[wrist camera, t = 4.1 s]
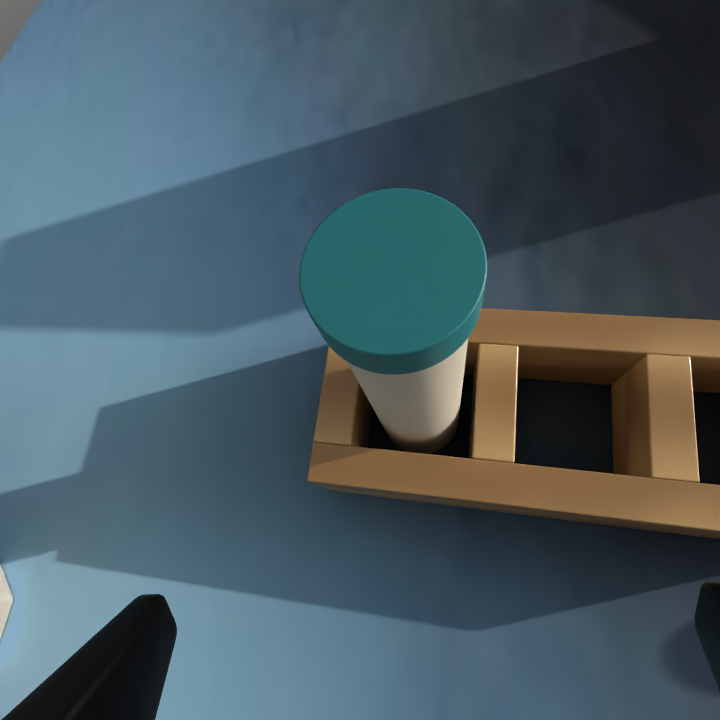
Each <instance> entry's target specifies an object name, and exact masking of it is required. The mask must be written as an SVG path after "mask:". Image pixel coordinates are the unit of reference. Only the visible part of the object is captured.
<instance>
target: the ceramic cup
mask: <svg viewBox="0 0 720 720" xmlns="http://www.w3.org/2000/svg"><path fill="white" fill-rule="evenodd" d="M12 603H13V597H12V594H11V591H10V588H9V586H8V583H7V580H6V578H5V575H4V572H3V570H2V567H1V564H0V638H1V635H2V632H3V630H4V627H5V624H6V621H7V618H8V615H9V612H10V609H11V606H12Z"/></svg>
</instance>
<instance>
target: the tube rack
mask: <svg viewBox="0 0 720 720" xmlns="http://www.w3.org/2000/svg"><path fill="white" fill-rule="evenodd" d="M464 374H472V375H473V388H472V404H471V420H470V435H469V451H468V458H460V457H451V456H441V455H432V454H422V453H413V452H404V451H394V450H385V449H375V448H368V444H369V436H370V428H371V420H372V412H373V407H372V405H371V404H370V402H369V400H368V398H367V396H366V395H365V393H364V391H363V389H362V387H361V386H360V384H359V382H358V380H357V378H356V377H355V375H354V373H353V371H352V369H351V368H350V366H349V364H348V362H347V361H345V360H344V359H343V358H341V357H340V356H339V355H337V354H336V353H335V352H334V351H333V350H332V349H331V348H330V347H329V345H328V351H327V357H326V363H325V370H324V376H323V383H322V389H321V395H320V402H319V408H318V415H317V421H316V427H315V434H314V442H313V445H312V451H311V458H310V464H309V470H308V477H307V481H308V482H311V483H313V484H315V485H318V486H320V487H323V488H325V489H328V490H330V491H336V492H344V493H352V494H360V495H368V496H376V497H384V498H392V499H400V500H408V501H417V502H425V503H433V504H441V505H449V506H457V507H465V508H473V509H481V510H489V511H497V512H505V513H513V514H522V515H530V516H538V517H546V518H554V519H562V520H570V521H578V522H586V523H594V524H602V525H610V526H619V527H627V528H635V529H643V530H651V531H659V532H667V533H675V534H683V535H691V536H699V537H707V538H716V539H720V485H715V484H706V483H698V482H699V481H700V480H699V466H698V453H697V439H696V426H695V412H694V399H693V391H696V392H709V393H720V321H718V320H699V319H679V318H660V317H641V316H622V315H603V314H583V313H564V312H545V311H526V310H506V309H487V308H482V309H481V312H480V316H479V319H478V321H477V323H476V326H475V328H474V329H473V331H472V333H471V334H470V336H469V337H468V344H467V352H466V361H465V369H464ZM518 378H525V379H538V380H551V381H564V382H577V383H591V384H604V385H612V386H611V397H612V439H613V474H611V473H602V472H592V471H583V470H573V469H564V468H555V467H545V466H536V465H526V464H517V463H514V461H515V438H516V410H517V381H518Z"/></svg>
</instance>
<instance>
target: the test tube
mask: <svg viewBox="0 0 720 720" xmlns="http://www.w3.org/2000/svg"><path fill="white" fill-rule="evenodd" d="M299 278H300V290H301V295H302V299H303V302H304V305H305V307H306V309H307V311H308V313H309V315H310V317H311V319H312V320H313V322H314V324H315V325H316V327H317V329H318V330H319V332H320V333H321V335H322V337H323V338H324V340H325V341H326V342H327V344H328V345H329V347H330V348H331V349H332V350H333V351H334V352H335V353H336V354H337V355H339V356H340V357H341V358H343V359H344V360H345V361H347V362H348V364H349V366H350V368H351V369H352V371H353V373H354V375H355V377H356V378H357V380H358V382H359V384H360V386H361V387H362V389H363V391H364V393H365V395H366V396H367V398H368V400H369V402H370V404H371V405H372V407H373V409H374V411H375V413H376V414H377V416H378V418H379V420H380V422H381V423H382V425H383V427H384V429H385V431H386V433H387V434H388V436H389V438H390V439H391V440H392V442H393V443H394V444H395V445H396V446H398V447H399V448H400V449H402V450H404V451H406V452H413V453H422V454H430V453H434V452H436V451H438V450H440V449H442V448H443V447H445V446H446V445H447V444H448V443H449V442H450V441H451V439H452V438H453V436H454V435H455V432H456V430H457V426H458V419H459V411H460V403H461V394H462V386H463V378H464V369H465V361H466V352H467V344H468V337H469V336H470V334H471V333H472V331H473V329H474V328H475V326H476V323H477V321H478V319H479V316H480V312H481V309H482V303H483V297H484V291H485V285H486V278H487V256H486V251H485V247H484V244H483V241H482V238H481V236H480V234H479V232H478V231H477V229H476V227H475V226H474V224H473V223H472V222H471V220H470V219H469V218H468V217H467V216H466V215H465V214H464V213H463V212H462V211H461V210H460V209H459V208H457V207H456V206H455V205H454V204H452V203H450V202H449V201H447V200H445V199H444V198H441V197H439V196H437V195H434V194H432V193H428V192H425V191H421V190H415V189H406V188H393V189H383V190H377V191H373V192H370V193H366V194H363V195H361V196H358V197H356V198H354V199H352V200H350V201H348V202H346V203H344V204H343V205H341V206H340V207H338V208H337V209H335V210H334V211H333V212H332V213H331V214H330V215H328V216H327V217H326V218H325V219H324V220H323V221H322V223H321V224H320V225H319V226H318V227H317V229H316V230H315V231H314V233H313V234H312V236H311V238H310V240H309V241H308V243H307V246H306V248H305V251H304V253H303V257H302V261H301V265H300V275H299Z"/></svg>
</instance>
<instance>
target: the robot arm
mask: <svg viewBox="0 0 720 720" xmlns="http://www.w3.org/2000/svg"><path fill="white" fill-rule="evenodd" d="M695 627H696V631H697V634H698V637H699V639H700V642H701V644H702V647H703V650H704V652H705V655H706V657H707V660H708V662H709V665H710V668H711V670H712V673H713V675H714V678H715V680H716V683H717V686H718V688H719V691H720V582H706V583H704V584H703V585H702V586H701V589H700V594H699V598H698V603H697V607H696V612H695ZM176 635H177V627H176V623H175V620H174V618H173V615H172V613H171V611H170V608H169V606H168V604H167V601H166V599H165V597H164V596H162V595H160V594H147V595H141V596H138V597H137V598H135V599H134V600H133V601H132V602H131V603H130V604H129V605H128V606H126V607H125V608H124V609H123V610H122V611H121V612H120V613H119V614H118V615H117V616H115V617H114V618H113V619H112V620H111V621H110V622H109V623H108V624H107V625H106V626H104V627H103V628H102V629H101V630H100V631H99V632H98V633H97V634H96V635H95V636H93V637H92V638H91V639H90V640H89V641H88V642H87V643H86V644H85V645H83V646H82V647H81V648H80V649H79V650H78V651H77V652H76V653H75V654H74V655H72V656H71V657H70V658H69V659H68V660H67V661H66V662H65V663H64V664H63V665H61V666H60V667H59V668H58V669H57V670H56V671H55V672H54V673H53V674H52V675H50V676H49V677H48V678H47V679H46V680H45V681H44V682H43V683H42V684H40V685H39V686H38V687H37V688H36V689H35V690H34V691H33V692H32V693H31V694H29V695H28V696H27V697H26V698H25V699H24V700H23V701H22V702H21V703H20V704H18V705H17V706H16V707H15V708H14V709H13V710H12V711H11V712H10V713H9V714H7V715H6V716H5V717H4V718H3V719H2V720H155V718H156V714H157V710H158V706H159V702H160V698H161V695H162V691H163V687H164V683H165V679H166V675H167V671H168V667H169V664H170V660H171V656H172V652H173V648H174V644H175V640H176Z"/></svg>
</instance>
